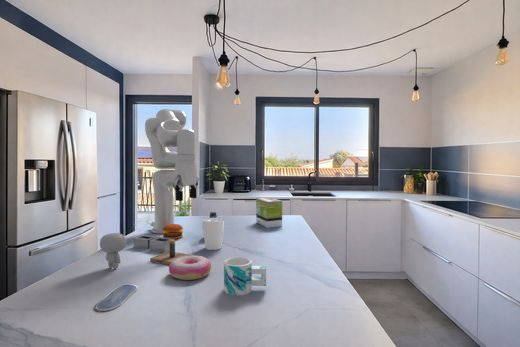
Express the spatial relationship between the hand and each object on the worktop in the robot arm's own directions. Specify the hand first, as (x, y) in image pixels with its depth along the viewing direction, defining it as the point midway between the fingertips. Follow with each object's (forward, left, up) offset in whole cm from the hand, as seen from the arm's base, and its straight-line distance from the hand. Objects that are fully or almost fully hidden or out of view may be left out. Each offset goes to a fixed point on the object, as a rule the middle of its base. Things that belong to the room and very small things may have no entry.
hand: (186, 199), depth 136 cm
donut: (+21, -25, -21) cm, 39 cm away
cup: (+11, +4, -21) cm, 24 cm away
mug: (+43, -28, -21) cm, 56 cm away
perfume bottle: (+1, +19, -21) cm, 28 cm away
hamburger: (-16, +10, -21) cm, 28 cm away
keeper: (+6, -16, -20) cm, 27 cm away
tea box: (+13, +58, -21) cm, 63 cm away
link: (-7, -7, -21) cm, 23 cm away
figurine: (-6, -32, -21) cm, 39 cm away
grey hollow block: (-16, -7, -20) cm, 27 cm away
